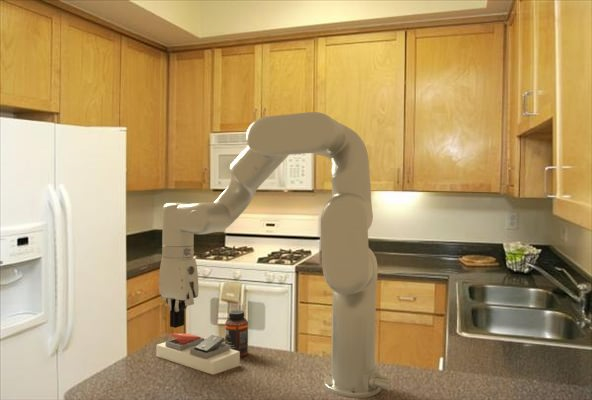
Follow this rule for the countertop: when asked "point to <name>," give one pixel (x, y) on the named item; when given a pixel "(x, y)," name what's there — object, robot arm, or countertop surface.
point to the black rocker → (210, 344)
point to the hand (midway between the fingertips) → (177, 325)
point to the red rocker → (185, 337)
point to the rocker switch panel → (199, 356)
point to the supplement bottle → (237, 332)
